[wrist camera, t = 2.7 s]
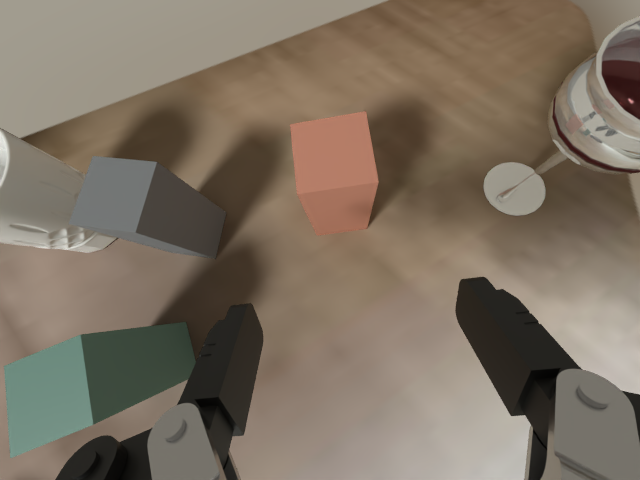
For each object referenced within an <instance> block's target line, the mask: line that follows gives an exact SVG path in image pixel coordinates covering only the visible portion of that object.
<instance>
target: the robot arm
mask: <svg viewBox="0 0 640 480" xmlns="http://www.w3.org/2000/svg"><path fill="white" fill-rule="evenodd" d="M456 317H457V320H458V323H459V325H460V327H461V329H462V330H463V332H464V334H465V336H466V337H467V339H468V341H469V343H470V344H471V346H472V348H473V350H474V352H475V353H476V355H477V357H478V359H479V360H480V362H481V364H482V366H483V367H484V369H485V371H486V373H487V375H488V376H489V378H490V380H491V382H492V383H493V385H494V387H495V389H496V390H497V392H498V394H499V396H500V397H501V399H502V401H503V403H504V405H505V406H506V408H507V410H508V412H509V413H510V415H511V416H519V415H525V416H526V417H527V419H528V421H529V422H530V424H531V426H530V430H529V439H528V449H527V458H526V468H525V478H524V480H640V395H639V394H634V393H629V392H625V391H621V390H620V389H619V388H618V387H616V386H615V385H614V384H612V383H611V382H609V381H608V380H606V379H605V378H603V377H601V376H599V375H597V374H594V373H592V372H589V371H586V370H582V369H581V368H580V367H579V366H578V365H577V364H576V363H575V362H574V361H573V359H572V358H571V357H570V356H569V355H568V354H567V353H566V352H565V351H564V349H563V348H562V347H561V346H560V345H559V344H558V343H557V342H556V341H555V339H554V338H553V337H552V336H551V335H550V334H549V333H548V332H547V330H546V329H545V328H544V327H543V326H542V325H541V324H539V323H538V320H537V319H536V318H535V317H534V316H533V315H532V314H530V313H529V310H528V309H527V308H526V307H525V306H524V305H523V304H522V303H521V302H520V300H519V299H518V298H516V297H514V296H513V295H511V294H510V293H508V292H506V291H505V290H503V289H501V290H496V289H495V288H494V287H493V285H492V284H491V283H490V282H489V281H488V279H486V278H485V277H477V278H468V279H462V280H461V281H460V283H459V289H458V296H457V302H456ZM262 346H263V331H262V327H261V325H260V322H259V320H258V317H257V315H256V312H255V310H254V307H253V305H252V304H251V303H249V304H240V305H232V306H231V307H230V308H229V311H228V313H227V316H226V318H225V320H219V321H218V322H217V323H216V324H215V326H214V327H213V328H212V329H211V330H210V331H209V333H208V336H207V338H206V340H205V343H204V347H202V349H201V352H200V354H199V358H198V359H197V361H196V363H195V366H194V368H193V370H192V373H191V375H190V377H189V380H188V382H187V384H186V387H185V389H184V391H183V394H182V396H181V398H180V400H179V402H178V404H177V405H176V406H174V407H173V408H171V409H169V410H168V411H167V412H165V413H164V414H163V415H162V416H161V417H160V418H159V420H158V421H157V422H156V424H155V425H154V427H153V428H151V429H149V430H147V431H145V432H142V433H140V434H138V435H135V436H133V437H131V438H128V439H126V440H124V441H121V442H118V441H117V440H116V439H115V438H113V437H112V436H108V435H107V436H100V437H97V438H95V439H93V440H91V441H89V442H88V443H86V444H85V445H84V446H82V447H81V448H80V449H79V450H78V451H77V452H75V453H74V454H73V456H72V457H71V458H70V459H69V460H68V461H67V463H66V464H65V465H64V467H63V468H62V470H61V471H60V473H59V475H58V476H57V478H56V480H241V478H240V476H239V473H238V471H237V468H236V465H235V463H234V460H233V458H232V455H231V453H230V450H229V448H230V444H231V440H232V436H242V435H244V432H245V427H246V422H247V417H248V413H249V408H250V403H251V398H252V394H253V389H254V384H255V379H256V374H257V370H258V365H259V360H260V355H261V351H262Z"/></svg>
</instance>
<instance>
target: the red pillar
mask: <svg viewBox="0 0 640 480" xmlns="http://www.w3.org/2000/svg"><path fill="white" fill-rule="evenodd" d="M290 128H291V138H292V148H293V158H294V168H295V177H296V187H297V195H298V197H299V199H300V201H301V203H302V205H303V207H304V209H305V211H306V214H307V216H308V218H309V220H310V222H311V224H312V226H313V228H314V230H315V232H316V234H317V235H324V234H332V233H339V232H346V231H353V230H361V229H367V227H368V223H369V219H370V215H371V211H372V207H373V203H374V199H375V195H376V191H377V187H378V183H379V181H378V175H377V170H376V164H375V159H374V153H373V148H372V142H371V137H370V131H369V126H368V120H367V115H366V111H365V112H359V113H353V114H347V115H342V116H336V117H330V118H324V119H318V120H313V121H307V122H301V123H295V124H290Z"/></svg>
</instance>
